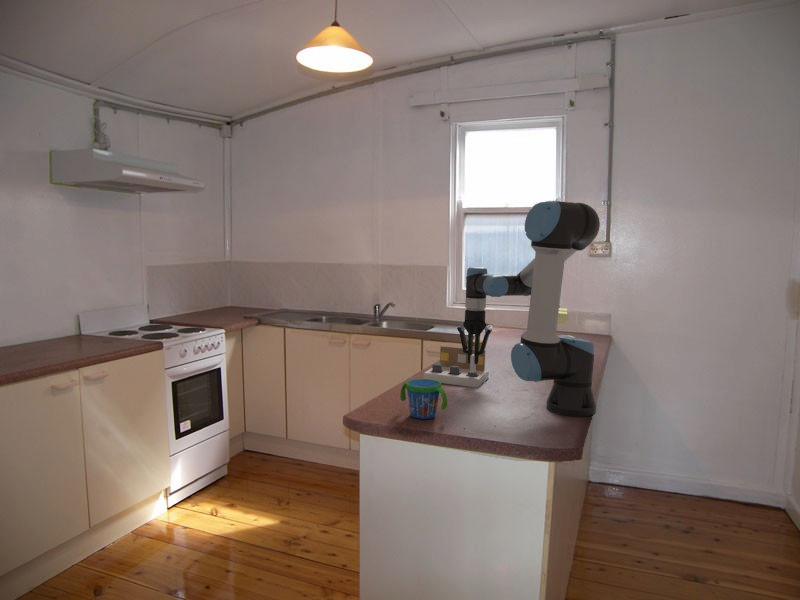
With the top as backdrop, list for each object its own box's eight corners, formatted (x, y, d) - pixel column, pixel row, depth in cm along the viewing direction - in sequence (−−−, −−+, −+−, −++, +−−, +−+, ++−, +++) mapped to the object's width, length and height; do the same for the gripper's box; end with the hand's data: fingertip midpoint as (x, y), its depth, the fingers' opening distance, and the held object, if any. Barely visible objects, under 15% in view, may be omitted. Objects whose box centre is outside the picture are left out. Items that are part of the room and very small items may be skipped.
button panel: (478, 387, 200) (479, 357, 199) (423, 380, 208) (424, 351, 207) (488, 378, 215) (489, 350, 214) (437, 372, 223) (438, 345, 222)
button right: (475, 383, 204) (476, 374, 204) (466, 382, 205) (466, 373, 205) (478, 381, 207) (478, 372, 207) (468, 380, 209) (469, 371, 208)
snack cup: (391, 413, 167) (392, 380, 166) (414, 407, 174) (415, 375, 173) (431, 426, 156) (432, 391, 155) (454, 418, 164) (455, 384, 163)
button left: (439, 375, 209) (440, 366, 209) (430, 374, 210) (431, 365, 210) (442, 373, 212) (443, 364, 212) (433, 372, 214) (434, 363, 213)
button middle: (457, 377, 206) (458, 368, 206) (448, 376, 208) (448, 367, 207) (460, 375, 210) (460, 366, 209) (451, 374, 211) (451, 365, 211)
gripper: (495, 309, 205) (492, 372, 207) (461, 307, 209) (458, 368, 212) (490, 311, 198) (487, 376, 200) (455, 309, 203) (452, 372, 205)
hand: (472, 372), depth 206 cm, fingers closed
